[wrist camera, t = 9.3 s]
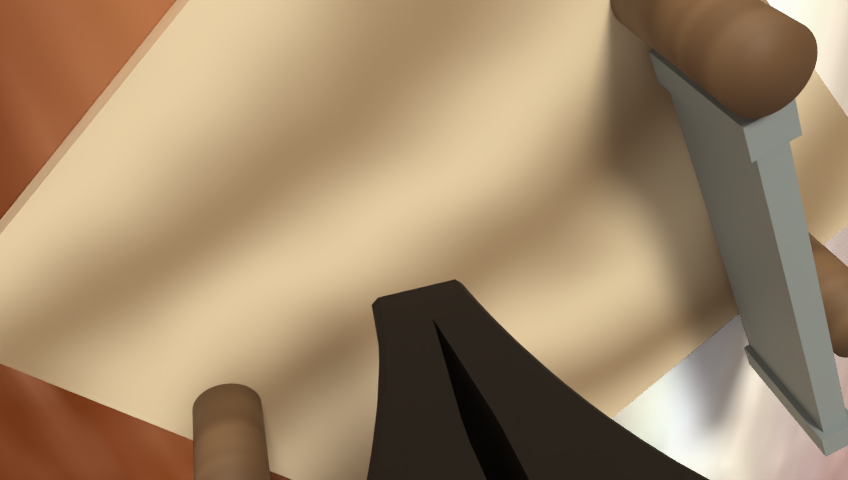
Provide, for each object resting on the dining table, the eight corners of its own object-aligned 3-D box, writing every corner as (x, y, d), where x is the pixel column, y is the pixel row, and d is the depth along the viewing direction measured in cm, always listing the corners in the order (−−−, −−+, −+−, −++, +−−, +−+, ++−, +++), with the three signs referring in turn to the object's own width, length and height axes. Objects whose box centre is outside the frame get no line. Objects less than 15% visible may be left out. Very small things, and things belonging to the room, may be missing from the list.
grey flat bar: (647, 47, 20) (741, 124, 17) (690, 23, 20) (794, 95, 16) (749, 364, 28) (825, 456, 25) (780, 347, 28) (861, 438, 25)
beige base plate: (-69, 306, 21) (-141, 497, 16) (482, -382, 15) (621, -403, 10) (449, 523, 32) (498, 673, 27) (873, 169, 26) (1026, 280, 22)
